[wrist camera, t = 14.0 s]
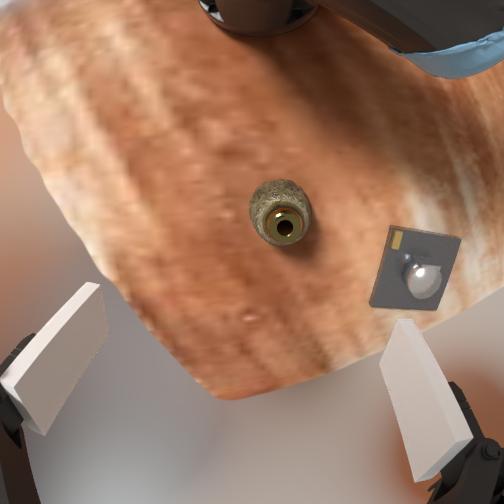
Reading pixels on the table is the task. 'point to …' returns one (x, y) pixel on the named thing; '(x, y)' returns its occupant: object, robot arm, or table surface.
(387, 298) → the grey plate with knob
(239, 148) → the table surface
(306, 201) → the scalloped lamp shade
